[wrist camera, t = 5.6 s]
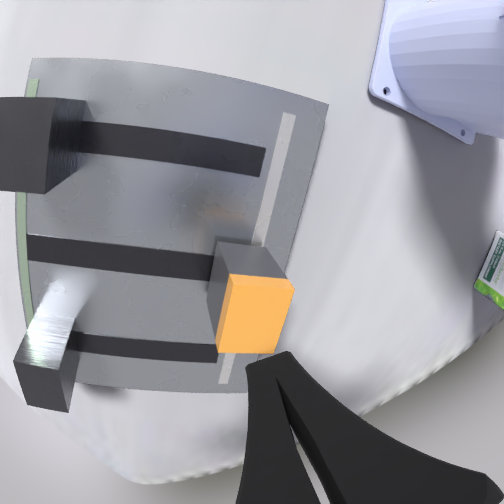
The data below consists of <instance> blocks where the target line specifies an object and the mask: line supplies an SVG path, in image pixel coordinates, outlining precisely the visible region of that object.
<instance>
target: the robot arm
mask: <svg viewBox="0 0 504 504" xmlns="http://www.w3.org/2000/svg"><path fill="white" fill-rule="evenodd" d="M384 88H385V89H386V95H384V93H383V89H384ZM369 91H370V93H371V94H372V95H373V96H375V97H377V98H379V99H381V100H384V101H386V102H388V103H390V104H392V105H394V106H397V107H399V108H401V109H403V110H405V111H407V112H409V113H411V114H413V115H415V116H417V117H419V118H421V119H423V120H425V121H427V122H429V123H430V124H432V125H434V126H436V127H438V128H440V129H441V130H443V131H445V132H447V133H449V134H450V135H452V136H454V137H456V138H457V139H459V140H461V141H462V142H464V143H466V144H469V145H471V144H473V142H474V140H475V135H476V133H480V134H484V135H488V136H492V137H496V138H500V139H504V0H435V1H431V2H429V1H427V0H386V1H385V7H384V13H383V19H382V24H381V29H380V35H379V40H378V45H377V50H376V55H375V60H374V64H373V69H372V74H371V78H370V83H369ZM245 370H246V375H247V382H248V401H249V407H248V432H247V442H246V451H245V459H244V466H243V472H242V477H241V483H240V487H239V491H238V495H237V500H236V504H321V503H320V501H319V499H318V497H317V494H316V492H315V490H314V488H313V485H312V483H311V481H310V478H309V477H308V474H307V472H306V469H305V467H304V465H303V462H302V460H301V458H300V455H299V453H298V451H297V448H296V444H295V441H294V437H293V434H292V430H291V427H292V429H293V431H294V433H295V435H296V437H297V439H298V440H299V442H300V444H301V446H302V448H303V450H304V452H305V454H306V455H307V457H308V459H309V461H310V463H311V465H312V466H313V468H314V470H315V472H316V473H317V475H318V477H319V479H320V481H321V483H322V485H323V488H324V490H325V492H326V495H327V497H328V499H329V502H330V504H499V503H500V502H501V501H502V500H503V498H504V494H503V492H502V491H501V490H500V488H499V487H498V486H497V485H496V484H495V483H494V482H493V481H492V480H491V479H490V478H489V477H488V476H487V475H486V474H484V473H481V472H477V471H473V470H469V469H466V468H462V467H459V466H456V465H453V464H450V463H447V462H444V461H442V460H439V459H436V458H433V457H431V456H429V455H427V454H424V453H422V452H420V451H418V450H416V449H413V448H411V447H409V446H407V445H405V444H403V443H401V442H399V441H397V440H395V439H394V438H392V437H390V436H388V435H386V434H385V433H383V432H381V431H380V430H378V429H377V428H375V427H373V426H372V425H370V424H368V423H367V422H366V421H364V420H363V419H361V418H360V417H359V416H357V415H356V414H354V413H353V412H352V411H351V410H349V409H348V408H347V407H345V406H344V405H343V404H341V403H340V402H339V401H338V400H337V399H335V398H334V397H333V396H332V395H331V394H330V393H329V392H327V391H326V390H325V389H324V388H323V387H322V386H321V385H320V384H319V383H317V382H316V381H315V380H314V379H313V378H312V377H311V376H310V375H309V374H308V372H307V371H306V370H305V369H304V368H303V367H302V366H301V365H300V364H299V363H298V361H297V360H296V359H295V358H294V356H293V355H292V354H291V352H288V351H285V352H282V353H279V354H276V355H274V356H271V357H268V358H265V359H262V360H259V361H256V362H253V363H250V364H248V365H247V366H246V367H245ZM290 425H291V427H290Z"/></svg>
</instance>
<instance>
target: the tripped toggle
mask: <svg viewBox="0 0 504 504" xmlns="http://www.w3.org/2000/svg"><path fill="white" fill-rule="evenodd" d="M294 290H295V289H294V287H293V286H292V284H291V283H290V281H289V280H288V278H287V277H286V275H285V274H284V273H283V271H282V270H281V268H280V267H279V265H278V264H277V262H276V261H275V260H274V258H273V257H272V255H271V254H270V252H269V251H268V249H267V248H266V247H259V246H251V245H243V244H235V243H227V242H219V241H217V246H216V251H215V256H214V261H213V266H212V271H211V277H210V282H209V287H208V292H207V298H206V302H207V307H208V311H209V316H210V320H211V324H212V329H213V333H214V337H215V342H216V346H217V350H218V353H260V354H273V353H274V351H275V348H276V345H277V342H278V339H279V336H280V333H281V330H282V327H283V324H284V321H285V318H286V315H287V312H288V309H289V306H290V303H291V300H292V297H293V293H294Z"/></svg>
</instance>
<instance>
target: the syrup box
mask: <svg viewBox="0 0 504 504" xmlns="http://www.w3.org/2000/svg"><path fill="white" fill-rule="evenodd" d="M474 288H475V289H476V290H478V291H479V292H480V293H482V294H483V295H484V296H486V297H487V298H488V299H490V300H491V301H492V302H494V303H495V304H496V305H498V306H499V307H500V308H502V309H503V310H504V233H502V232H500V231H496V233H495V236H494V241H493V244H492V246H491V249H490V251H489V254H488V256H487V258H486V261H485V263H484V265H483V268H482V270H481V272H480V274H479V276H478V278H477V280H476V282H475V284H474Z"/></svg>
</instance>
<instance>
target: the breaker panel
mask: <svg viewBox="0 0 504 504" xmlns="http://www.w3.org/2000/svg"><path fill="white" fill-rule="evenodd" d="M328 106H329V104H326V103H323V102H320V101H317V100H313V99H310V98H307V97H304V96H301V95H297V94H294V93H290V92H287V91H283V90H280V89H276V88H273V87H269V86H265V85H261V84H257V83H253V82H249V81H245V80H241V79H236V78H232V77H227V76H222V75H217V74H212V73H207V72H202V71H196V70H191V69H185V68H178V67H172V66H165V65H157V64H149V63H141V62H131V61H120V60H107V59H89V58H32V61H31V65H30V69H29V74H28V79H27V84H26V89H25V95H24V97H0V191H11V192H15V223H16V245H17V259H18V270H19V280H20V288H21V296H22V303H23V309H24V315H25V321H26V327H27V332H26V334H25V336H24V338H23V340H22V342H21V344H20V347H19V349H18V351H17V353H16V355H15V358H14V360H13V363H14V366H15V369H16V373H17V376H18V379H19V382H20V385H21V388H22V391H23V394H24V397H25V400H26V402H27V405H30V406H35V407H40V408H45V409H50V410H55V411H60V412H66V413H69V408H70V402H71V397H72V392H73V388H74V383H75V382H78V383H85V384H93V385H100V386H109V387H118V388H128V389H139V390H152V391H168V392H190V393H247V390H248V382H247V375H246V370H245V367H246V366H247V365H248V364H250V363H253V362H256V361H257V359H258V356H259V353H218V350H217V346H216V342H215V337H214V333H213V329H212V324H211V320H210V316H209V311H208V307H207V302H206V298H207V292H208V287H209V282H210V277H211V271H212V266H213V261H214V256H215V251H216V246H217V241H219V242H227V243H235V244H243V245H251V246H259V247H266V248H267V249H268V251H269V252H270V254H271V255H272V257H273V258H274V260H275V261H276V262H277V264H278V265H279V267H280V268H281V270H282V271H283V273H284V270H285V267H286V263H287V260H288V256H289V253H290V249H291V246H292V242H293V239H294V235H295V232H296V228H297V225H298V221H299V217H300V214H301V210H302V207H303V203H304V199H305V196H306V192H307V188H308V184H309V181H310V177H311V173H312V169H313V166H314V162H315V158H316V154H317V150H318V146H319V142H320V138H321V134H322V130H323V126H324V122H325V118H326V114H327V110H328Z"/></svg>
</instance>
